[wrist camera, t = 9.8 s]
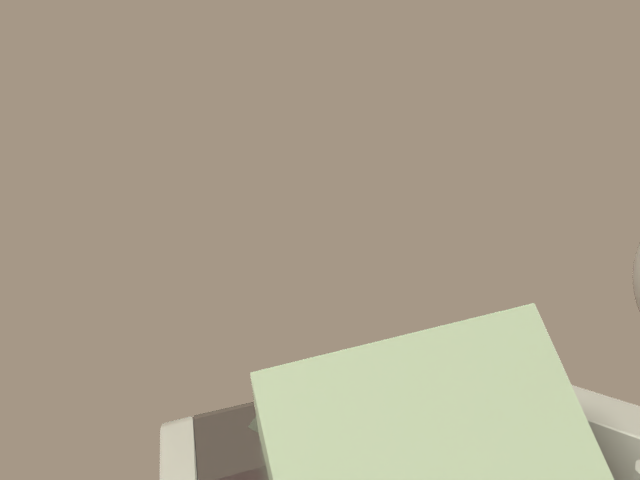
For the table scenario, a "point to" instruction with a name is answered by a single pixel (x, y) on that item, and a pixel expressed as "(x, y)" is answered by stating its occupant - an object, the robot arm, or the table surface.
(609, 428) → the robot arm
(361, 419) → the pale green stepped block
